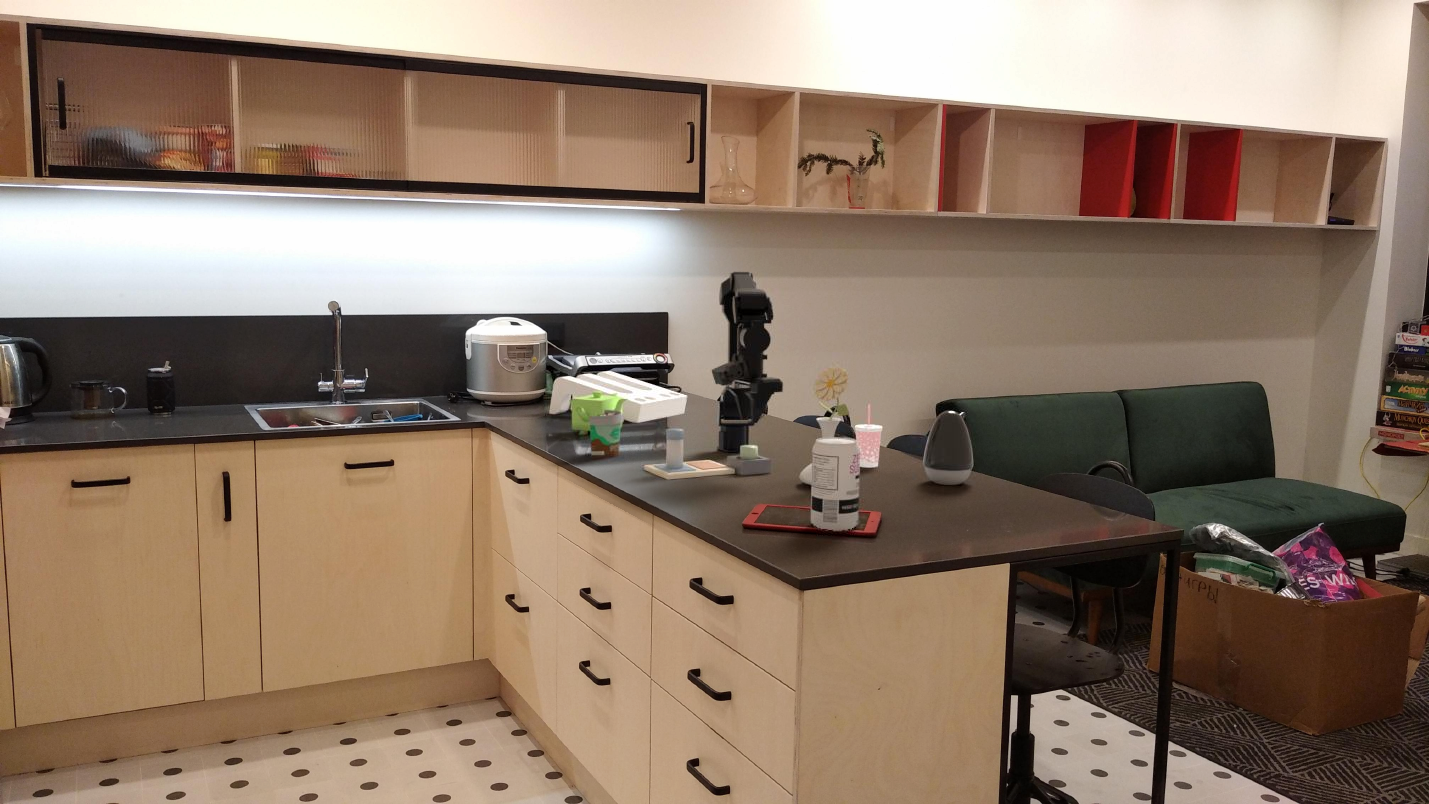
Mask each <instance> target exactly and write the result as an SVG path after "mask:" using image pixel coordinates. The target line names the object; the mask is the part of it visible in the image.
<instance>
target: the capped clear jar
mask: <svg viewBox="0 0 1429 804" xmlns="http://www.w3.org/2000/svg"><path fill="white" fill-rule="evenodd" d="M665 436H666V437H665V438H666V453H665V454H666V455H665V456H666V459H665V460H666V462H665V463H666V468H669V469H681V468H683V462H684V439H685V429H683V428H677V427H676V428H674V427H673V428H667V429H666V430H665Z"/></svg>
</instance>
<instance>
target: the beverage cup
mask: <svg viewBox="0 0 1429 804" xmlns="http://www.w3.org/2000/svg"><path fill="white" fill-rule="evenodd" d="M867 405H868V406H867V408H868V409H867V410H868V411H867V424H856V425H855V426H854V428H855V429H854V430H855V434H856V436H855V437H856V441H857V444H858V446H859V449H860V468H878V466H879V459H880V449H881V448H880V447H881V437H882V436H881V435H882V431H883V426H882V425H880V424H879V425H877V424H871V404H870V403H868V404H867Z"/></svg>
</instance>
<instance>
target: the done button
mask: <svg viewBox="0 0 1429 804" xmlns="http://www.w3.org/2000/svg"><path fill="white" fill-rule="evenodd" d="M758 451H759V446H758V445H755V444H754V445H753V444H749V445H742V446H740V452H739V453H740V454H739V455H740V459H743V460H754V459H758V455H759V452H758Z"/></svg>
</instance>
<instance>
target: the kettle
mask: <svg viewBox="0 0 1429 804" xmlns="http://www.w3.org/2000/svg"><path fill="white" fill-rule="evenodd" d="M592 393H593V395H589V396H583V397H578V398H573V399H572V398H571V399H570V401H569V402H570V406H571V405H572V410H571V430H575V431H579V433H578V435H582V436H585V435H588V433H589V432H590V425H589V420H590V416H597V415H602V414H604V410H615V411H620V412H621V414H622V404H623V403H624V402H625V401H626V400H628V399H622V397H620V396H617V394H618V393H613V394H612V395H611V396H606V395H602V392H600V391H594V392H592ZM621 428H623V422H622V423H621Z"/></svg>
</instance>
